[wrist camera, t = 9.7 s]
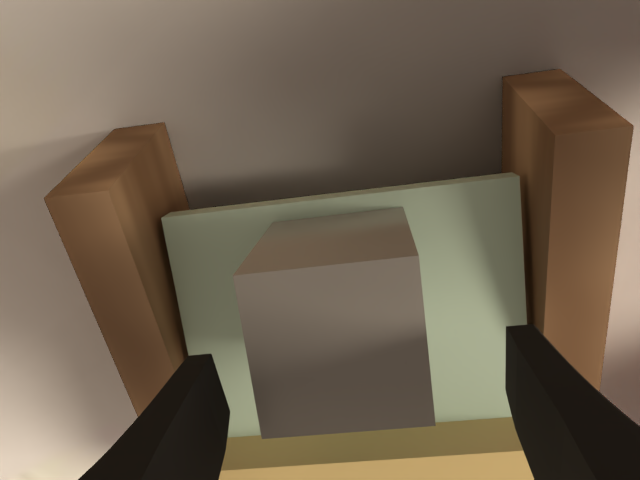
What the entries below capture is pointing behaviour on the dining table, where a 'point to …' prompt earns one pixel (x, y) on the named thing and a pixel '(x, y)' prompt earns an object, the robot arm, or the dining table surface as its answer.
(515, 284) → the trapdoor
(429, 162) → the dining table surface
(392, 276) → the granite block
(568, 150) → the frame
